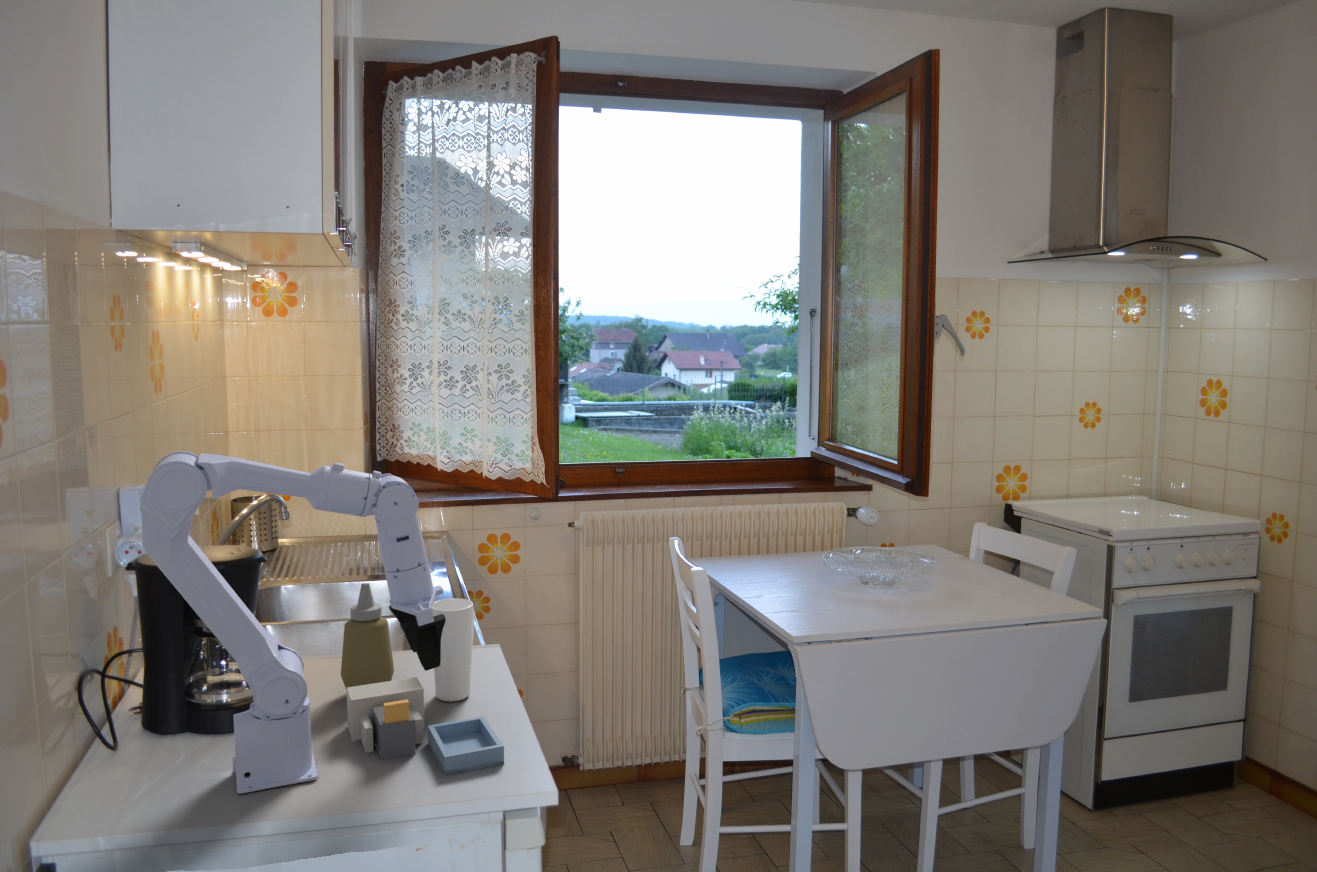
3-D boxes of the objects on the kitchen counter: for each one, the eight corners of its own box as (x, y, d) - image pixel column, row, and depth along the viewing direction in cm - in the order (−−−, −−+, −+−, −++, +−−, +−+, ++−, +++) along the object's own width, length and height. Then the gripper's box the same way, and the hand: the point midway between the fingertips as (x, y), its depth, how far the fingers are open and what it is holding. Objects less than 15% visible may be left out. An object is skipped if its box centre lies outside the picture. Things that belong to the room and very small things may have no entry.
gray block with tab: (373, 739, 131) (372, 688, 130) (405, 734, 133) (404, 683, 132) (381, 760, 125) (380, 707, 124) (415, 754, 127) (414, 702, 126)
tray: (445, 775, 121) (444, 757, 121) (428, 742, 130) (427, 725, 130) (504, 763, 124) (503, 745, 124) (483, 732, 134) (483, 716, 133)
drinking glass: (464, 706, 143) (463, 612, 141) (423, 702, 144) (421, 608, 142) (481, 690, 149) (480, 599, 147) (441, 686, 151) (440, 596, 149)
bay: (357, 754, 127) (355, 712, 126) (347, 727, 135) (346, 687, 134) (430, 741, 131) (430, 700, 130) (417, 715, 139) (416, 676, 139)
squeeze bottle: (365, 709, 141) (362, 594, 139) (330, 697, 145) (326, 585, 143) (405, 691, 148) (403, 582, 146) (370, 681, 152) (368, 574, 150)
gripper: (447, 569, 120) (467, 666, 122) (424, 545, 133) (442, 633, 135) (392, 584, 117) (414, 683, 119) (374, 558, 130) (394, 648, 132)
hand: (426, 658), depth 127 cm, fingers open, 7 cm apart
